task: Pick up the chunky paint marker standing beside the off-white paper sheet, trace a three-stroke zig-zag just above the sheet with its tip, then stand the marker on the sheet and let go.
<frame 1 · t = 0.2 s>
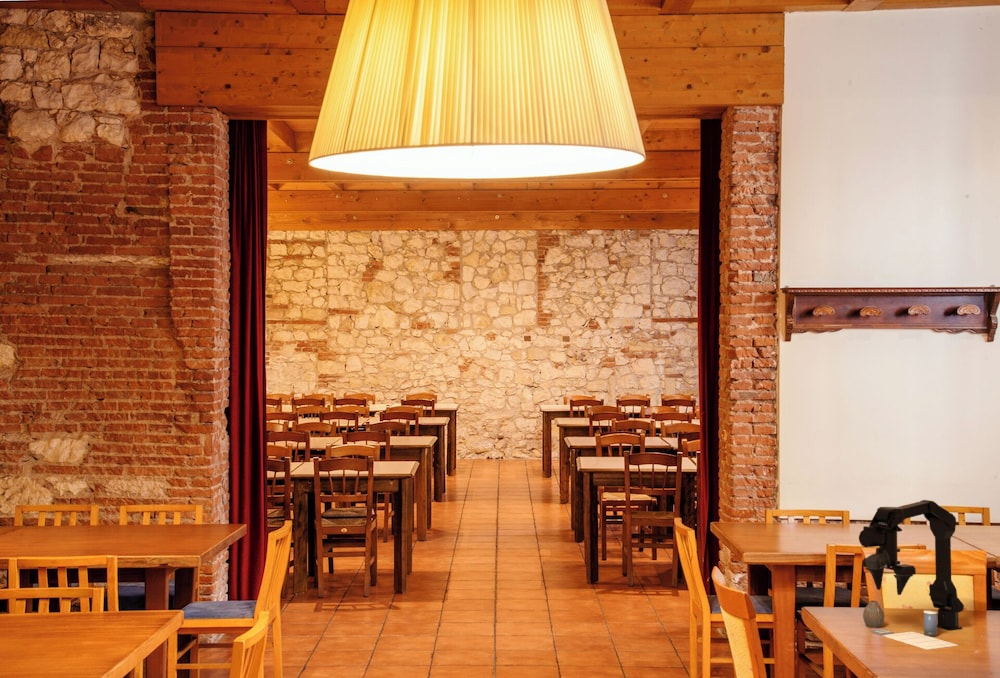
hand: (888, 592, 348), 14 cm above the table, fingers open, 9 cm apart
paper: (919, 640, 340), on the table
vase: (873, 627, 359), on the table
grey striped tile: (882, 632, 350), on the table
marker: (930, 635, 347), on the table
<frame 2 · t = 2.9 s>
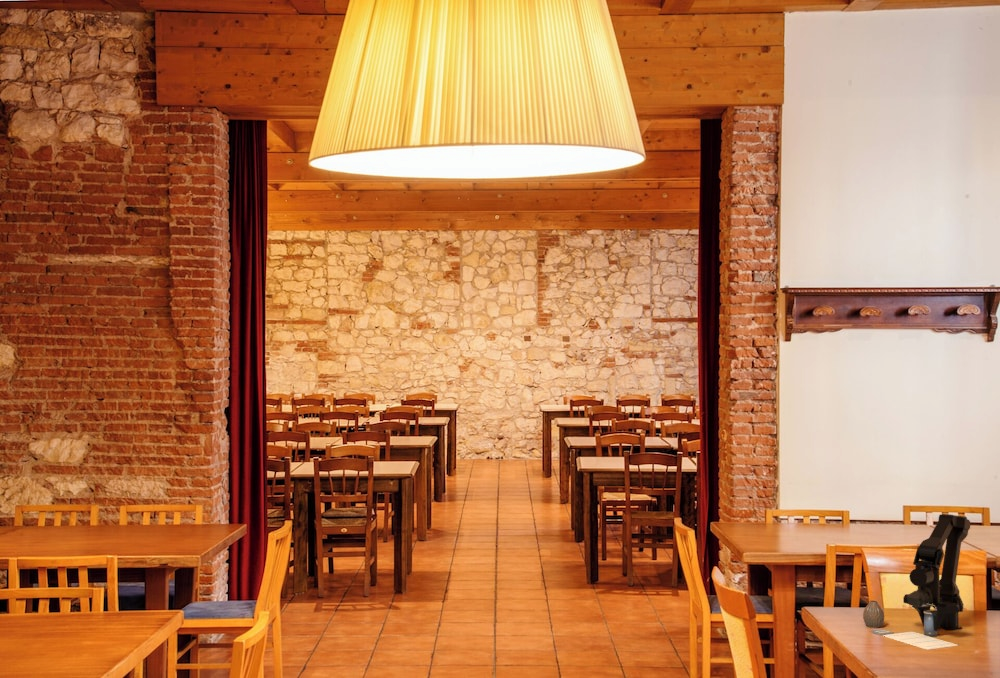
hand: (930, 629, 347), 2 cm above the table, fingers closed on marker, 4 cm apart
marker: (930, 635, 347), on the table, touching gripper
everything else where it was.
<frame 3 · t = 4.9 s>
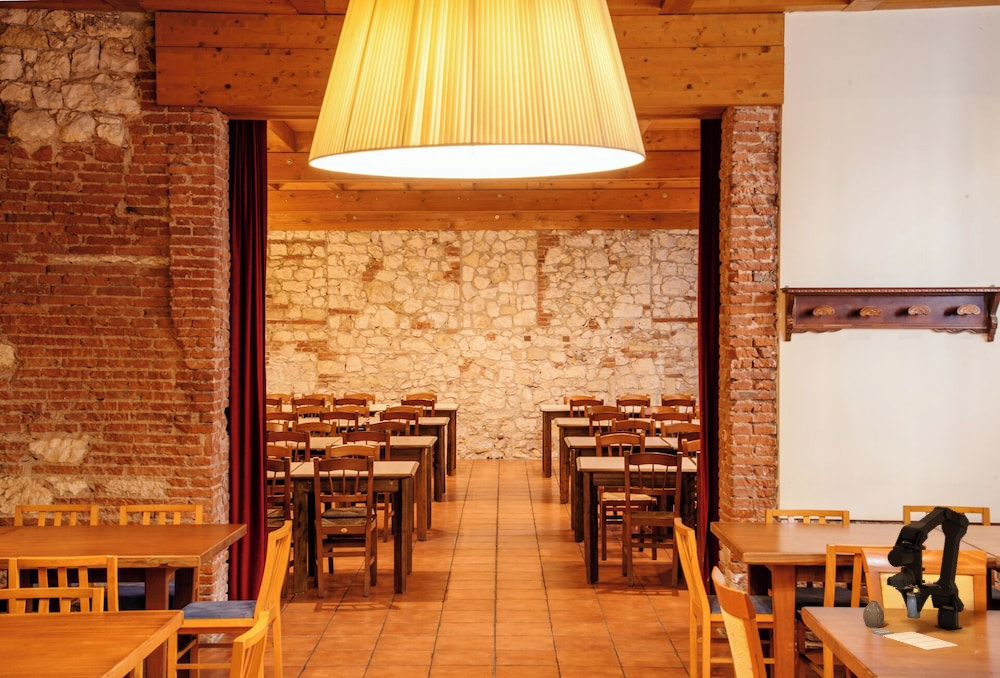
hand: (913, 611, 347), 8 cm above the table, fingers closed on marker, 4 cm apart
marker: (913, 617, 347), point 6 cm above the table, touching gripper
everything else where it was.
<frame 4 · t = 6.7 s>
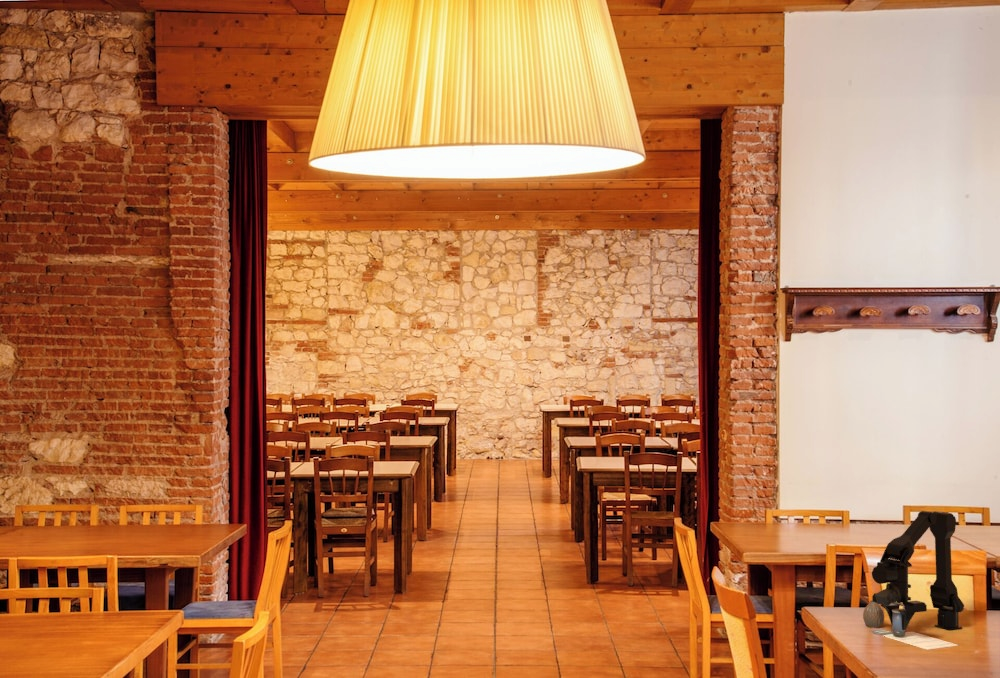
hand: (899, 628, 344), 3 cm above the table, fingers closed on marker, 4 cm apart
marker: (898, 634, 344), point 1 cm above the table, touching gripper
everything else where it was.
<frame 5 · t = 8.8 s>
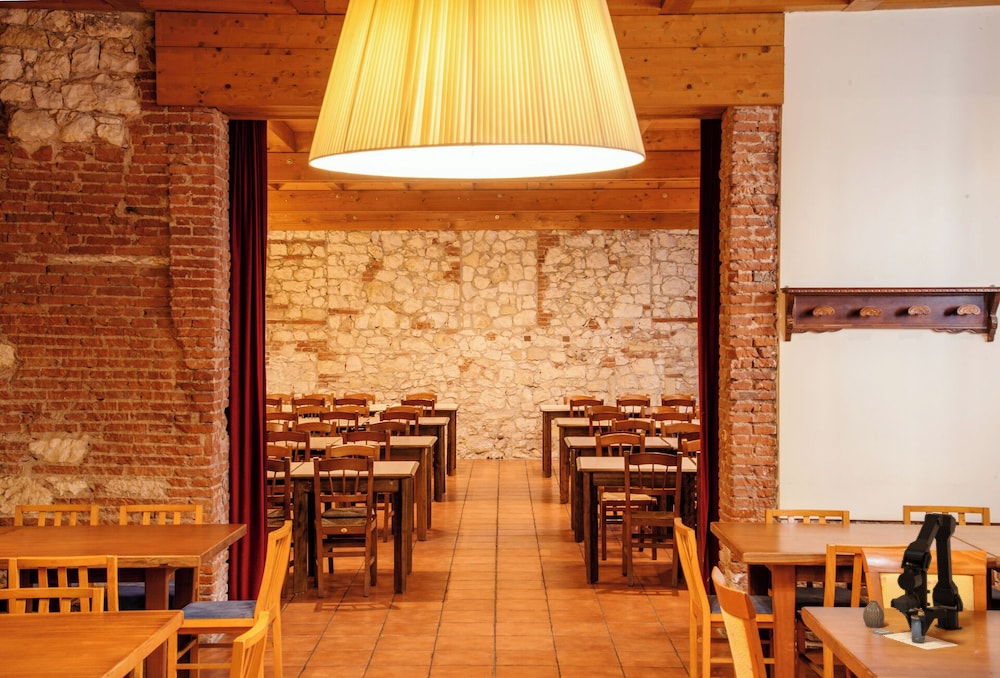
hand: (918, 634, 337), 3 cm above the table, fingers closed on marker, 4 cm apart
marker: (918, 641, 337), point 1 cm above the table, touching gripper
everything else where it was.
when the fingers open (3 cm above the table, at t = 10.8 s): marker stays where it is, resting on paper.
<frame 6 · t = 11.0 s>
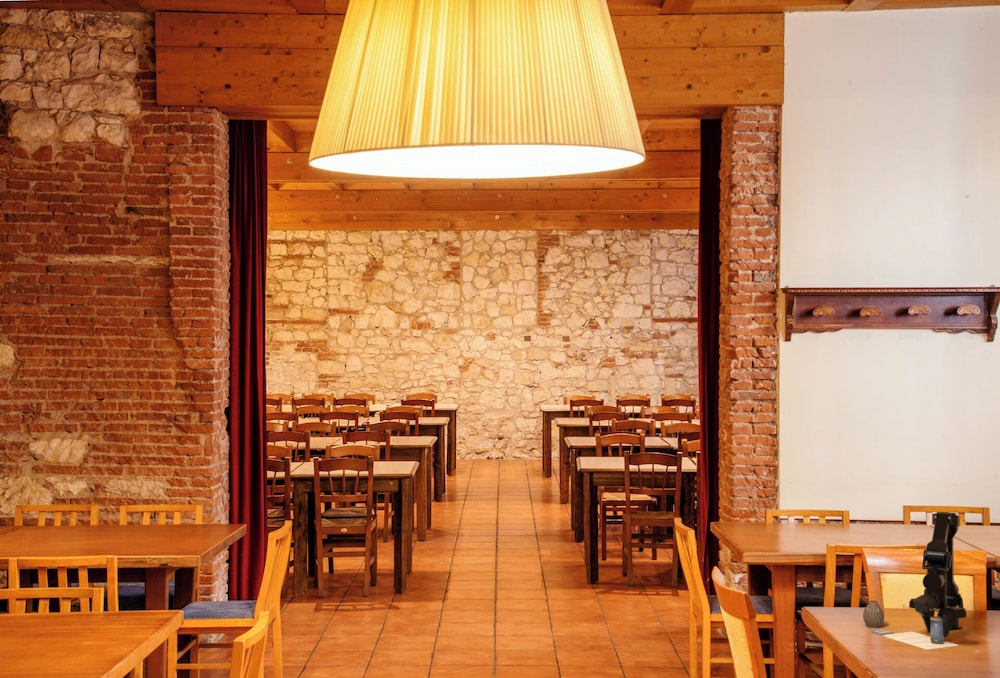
hand: (937, 634, 337), 3 cm above the table, fingers open, 6 cm apart
marker: (937, 642, 336), resting on paper
everything else where it was.
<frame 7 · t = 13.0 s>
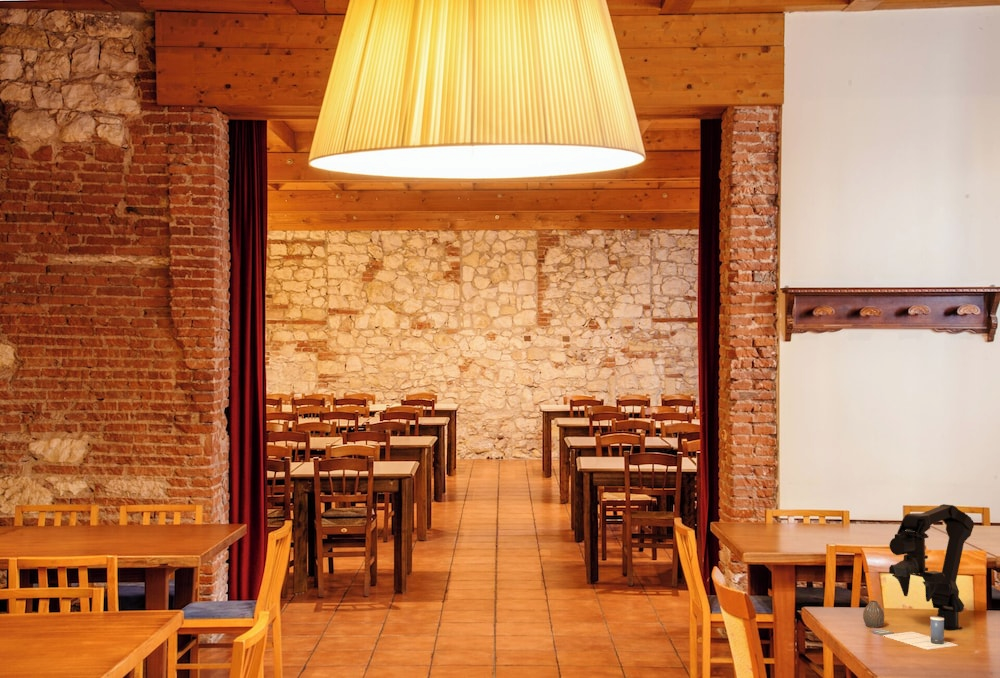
hand: (916, 598, 350), 12 cm above the table, fingers open, 9 cm apart
nothing on the table moved.
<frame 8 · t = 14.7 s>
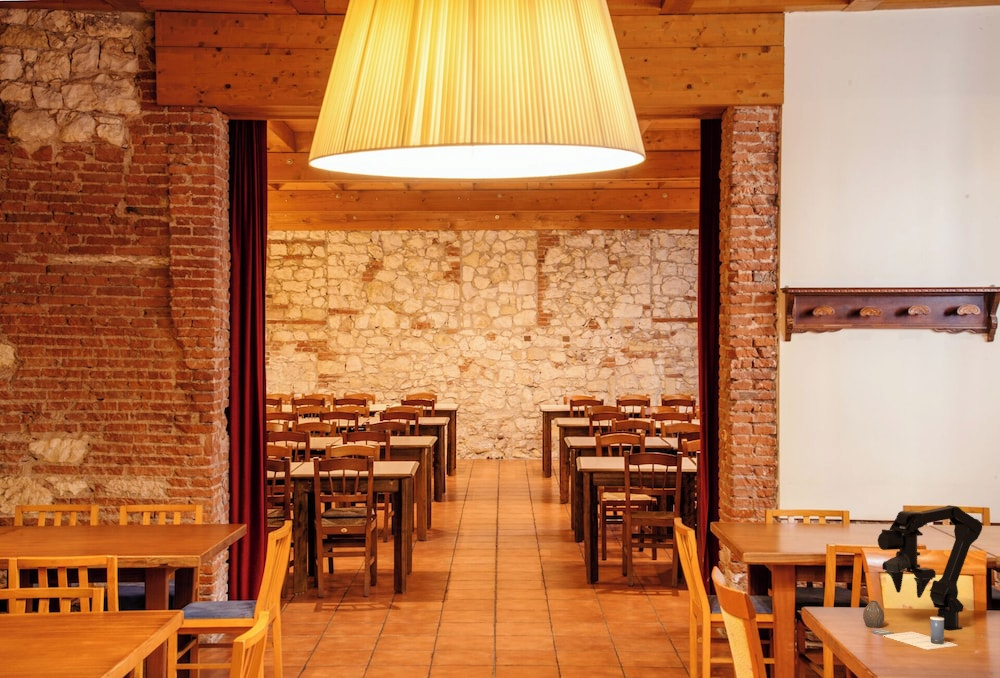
hand: (908, 595, 354), 12 cm above the table, fingers open, 9 cm apart
nothing on the table moved.
at the end: marker inside the target area (5.6 cm from its centre), resting on paper; marker tilted 0°; the gripper is holding nothing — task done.
